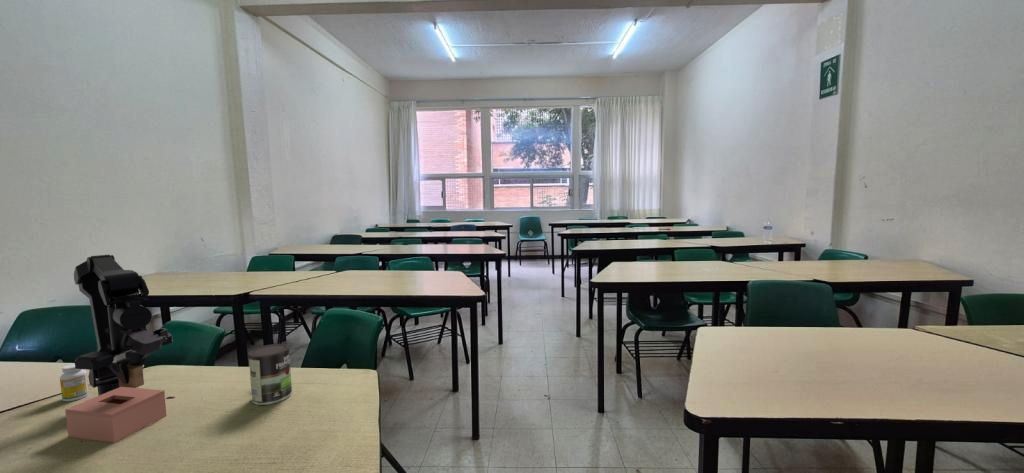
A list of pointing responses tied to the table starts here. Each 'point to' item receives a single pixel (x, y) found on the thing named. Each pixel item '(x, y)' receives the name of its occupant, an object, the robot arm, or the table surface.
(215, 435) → the table surface
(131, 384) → the block
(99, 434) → the coin box
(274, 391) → the coffee can
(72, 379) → the supplement bottle
